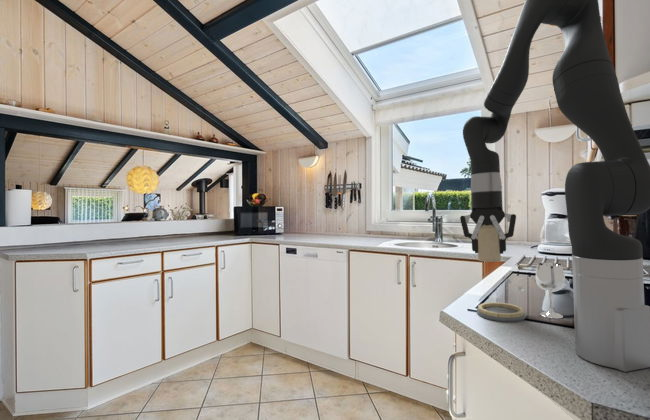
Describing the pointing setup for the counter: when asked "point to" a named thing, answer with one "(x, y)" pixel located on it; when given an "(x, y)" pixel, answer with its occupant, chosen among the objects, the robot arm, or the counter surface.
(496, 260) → the candle
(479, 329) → the counter surface
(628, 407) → the counter surface
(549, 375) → the counter surface
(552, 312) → the wineglass
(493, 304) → the beige ring
